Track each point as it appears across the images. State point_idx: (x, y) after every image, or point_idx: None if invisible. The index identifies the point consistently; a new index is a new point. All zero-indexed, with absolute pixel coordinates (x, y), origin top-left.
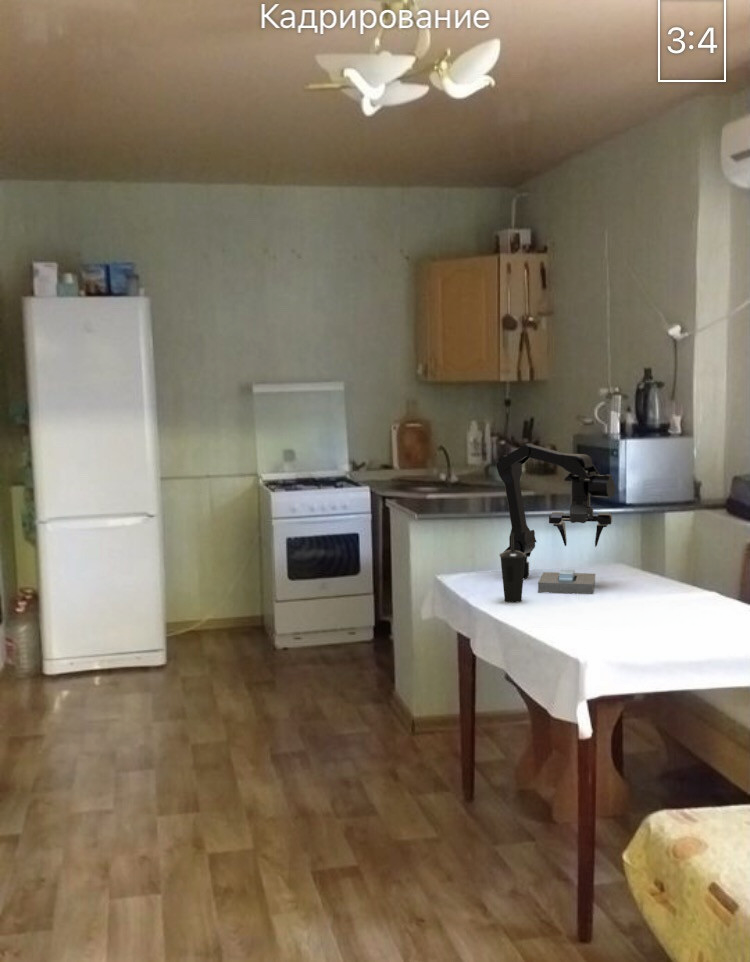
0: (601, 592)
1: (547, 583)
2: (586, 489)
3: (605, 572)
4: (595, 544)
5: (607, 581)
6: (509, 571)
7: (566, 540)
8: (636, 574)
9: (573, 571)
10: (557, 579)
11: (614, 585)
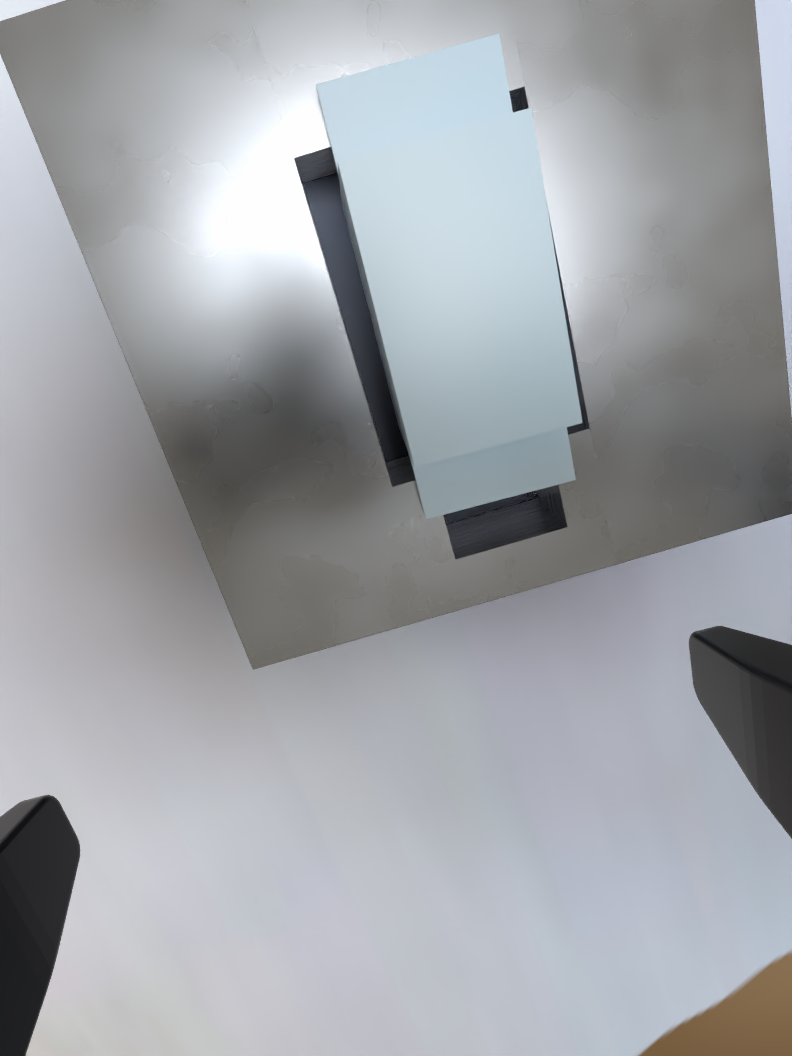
0: (13, 226)
1: None
2: None
3: (355, 1004)
4: (16, 823)
5: (200, 733)
6: None
7: (759, 778)
8: (112, 1035)
9: (392, 356)
10: (539, 156)
11: (65, 608)
